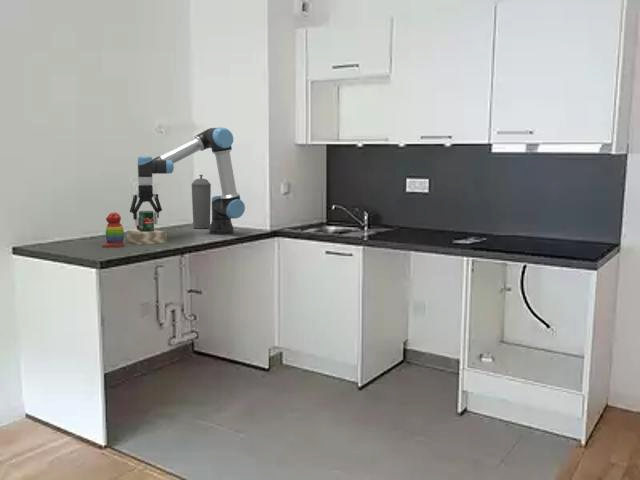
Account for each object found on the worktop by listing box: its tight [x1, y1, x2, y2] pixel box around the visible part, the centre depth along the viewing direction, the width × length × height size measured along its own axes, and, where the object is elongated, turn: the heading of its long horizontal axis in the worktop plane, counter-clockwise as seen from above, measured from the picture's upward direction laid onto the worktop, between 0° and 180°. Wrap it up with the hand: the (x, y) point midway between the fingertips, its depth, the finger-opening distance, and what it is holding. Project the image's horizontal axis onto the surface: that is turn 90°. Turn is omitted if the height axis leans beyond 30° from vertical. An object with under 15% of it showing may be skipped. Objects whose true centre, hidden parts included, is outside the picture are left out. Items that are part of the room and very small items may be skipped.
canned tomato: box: [138, 210, 155, 232], centre depth 342 cm, size 8×8×11 cm
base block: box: [126, 228, 168, 246], centre depth 343 cm, size 16×16×6 cm
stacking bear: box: [102, 212, 125, 248], centre depth 326 cm, size 11×10×18 cm
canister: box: [191, 174, 212, 230], centre depth 405 cm, size 13×13×35 cm
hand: (146, 224), depth 342 cm, fingers open, 10 cm apart
